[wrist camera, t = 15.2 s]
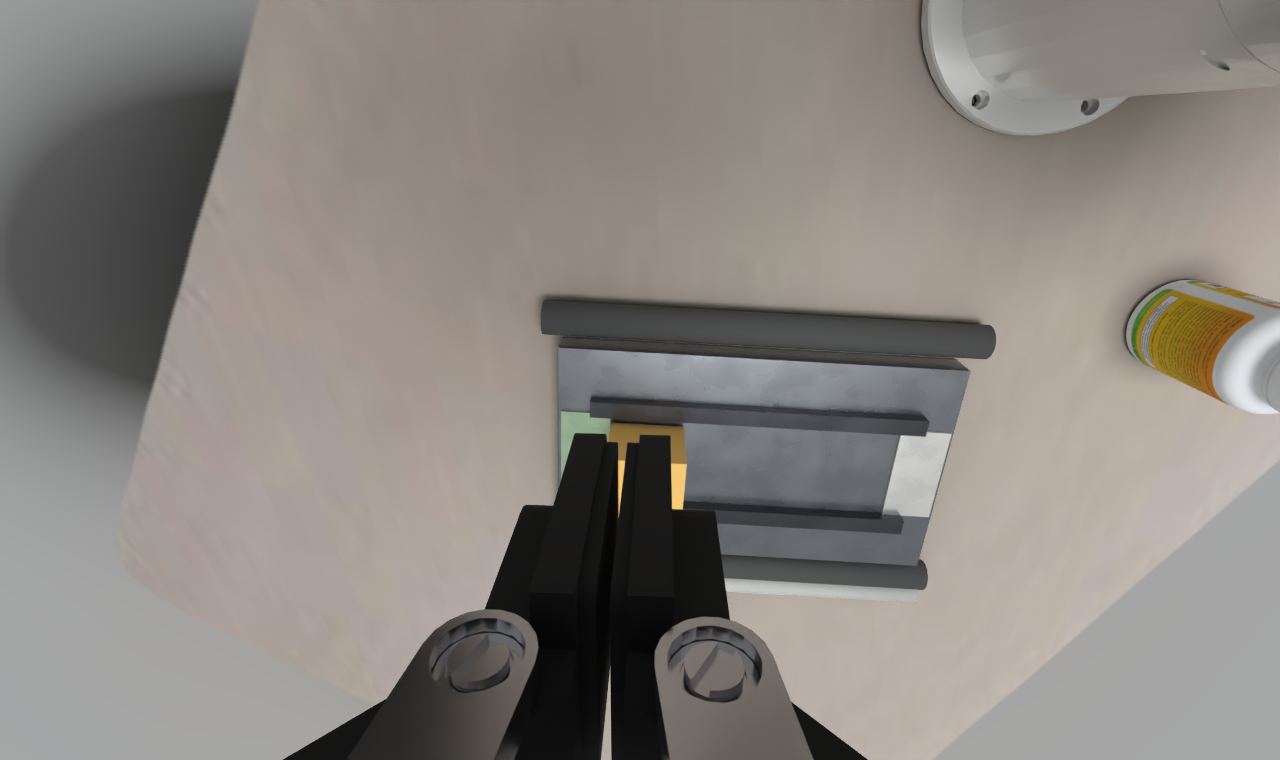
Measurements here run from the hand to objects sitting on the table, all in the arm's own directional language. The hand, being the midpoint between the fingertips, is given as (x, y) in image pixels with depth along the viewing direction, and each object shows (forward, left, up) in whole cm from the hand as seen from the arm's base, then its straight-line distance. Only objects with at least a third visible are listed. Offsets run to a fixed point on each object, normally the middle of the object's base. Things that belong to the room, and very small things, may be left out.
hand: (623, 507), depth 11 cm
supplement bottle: (-31, +3, -27) cm, 41 cm away
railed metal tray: (-7, +13, -27) cm, 30 cm away
